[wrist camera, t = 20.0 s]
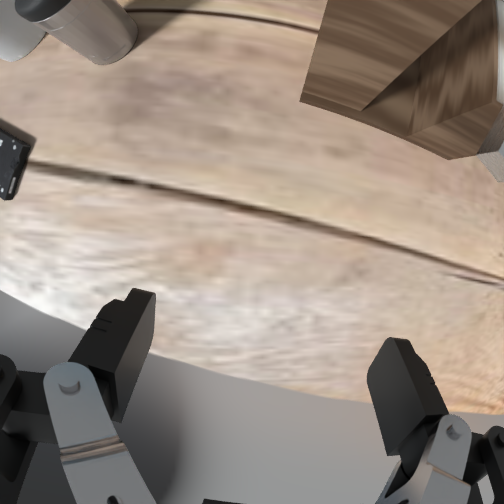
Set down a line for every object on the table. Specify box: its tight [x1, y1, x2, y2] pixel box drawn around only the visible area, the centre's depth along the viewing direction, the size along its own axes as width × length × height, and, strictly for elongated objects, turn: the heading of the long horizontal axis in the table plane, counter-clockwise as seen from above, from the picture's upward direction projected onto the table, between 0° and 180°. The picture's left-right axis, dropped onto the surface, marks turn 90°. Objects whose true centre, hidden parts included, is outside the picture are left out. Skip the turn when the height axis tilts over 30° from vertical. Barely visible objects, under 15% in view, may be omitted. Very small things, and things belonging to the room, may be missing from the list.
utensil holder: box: [0, 0, 46, 62], centre depth 30 cm, size 15×15×18 cm
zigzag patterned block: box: [299, 0, 504, 160], centre depth 22 cm, size 14×23×32 cm, turn 74°
